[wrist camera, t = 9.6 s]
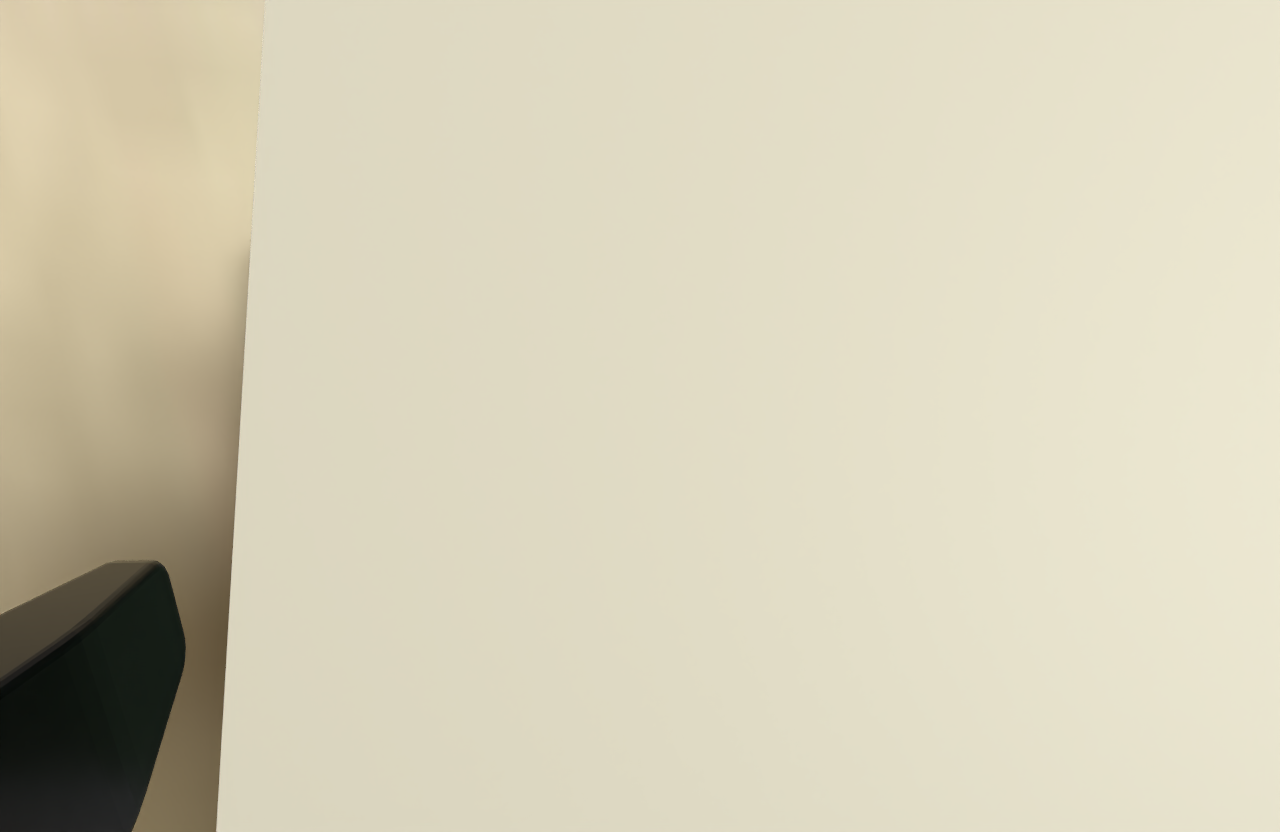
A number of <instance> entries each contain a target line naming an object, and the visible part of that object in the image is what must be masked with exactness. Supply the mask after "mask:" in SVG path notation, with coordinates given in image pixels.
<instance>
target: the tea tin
mask: <svg viewBox="0 0 1280 832" xmlns="http://www.w3.org/2000/svg"><path fill="white" fill-rule="evenodd" d="M216 832H1280V0H265V11H264V28H263V45H262V62H261V79H260V96H259V113H258V130H257V147H256V164H255V181H254V198H253V215H252V232H251V249H250V266H249V283H248V300H247V317H246V334H245V351H244V368H243V385H242V402H241V419H240V436H239V453H238V470H237V487H236V504H235V521H234V538H233V555H232V572H231V589H230V606H229V623H228V640H227V657H226V674H225V691H224V708H223V725H222V742H221V759H220V776H219V793H218V810H217V827H216Z"/></svg>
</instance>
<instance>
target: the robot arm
mask: <svg viewBox="0 0 1280 832" xmlns="http://www.w3.org/2000/svg"><path fill="white" fill-rule="evenodd" d="M185 650H186V646H185V637H184V632H183V628H182V624H181V620H180V617H179V613H178V609H177V605H176V601H175V597H174V593H173V590H172V586H171V582H170V578H169V575H168V573H167V571H166V569H165V567H164V566H163V565H162V564H161V563H159V562H158V561H154V560H144V561H114V562H110V563H106V564H104V565H102V566H100V567H98V568H96V569H94V570H92V571H90V572H88V573H86V574H84V575H81V576H79V577H77V578H75V579H73V580H71V581H69V582H67V583H65V584H63V585H61V586H59V587H57V588H55V589H53V590H50V591H48V592H46V593H44V594H42V595H40V596H38V597H36V598H34V599H32V600H30V601H28V602H26V603H24V604H22V605H19V606H17V607H15V608H13V609H11V610H9V611H7V612H5V613H3V614H1V615H0V832H132V829H133V827H134V824H135V822H136V819H137V817H138V814H139V812H140V809H141V806H142V803H143V800H144V797H145V794H146V791H147V788H148V784H149V781H150V778H151V774H152V771H153V768H154V764H155V761H156V758H157V755H158V751H159V748H160V745H161V741H162V738H163V735H164V732H165V728H166V725H167V722H168V718H169V715H170V712H171V708H172V705H173V702H174V699H175V695H176V692H177V689H178V685H179V682H180V679H181V676H182V672H183V668H184V662H185Z"/></svg>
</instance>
